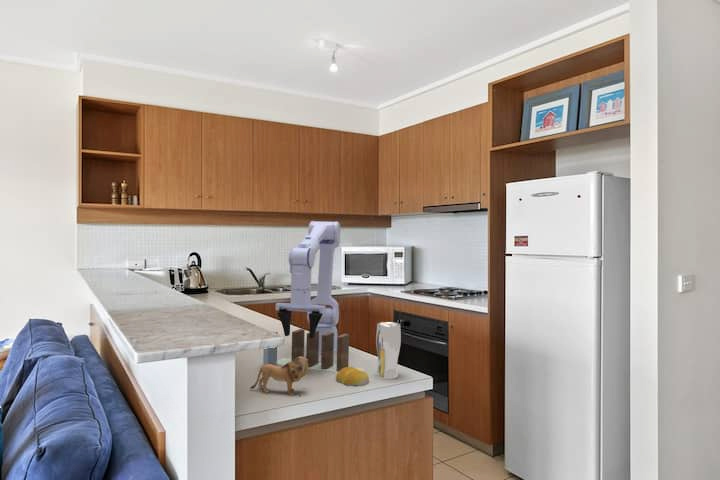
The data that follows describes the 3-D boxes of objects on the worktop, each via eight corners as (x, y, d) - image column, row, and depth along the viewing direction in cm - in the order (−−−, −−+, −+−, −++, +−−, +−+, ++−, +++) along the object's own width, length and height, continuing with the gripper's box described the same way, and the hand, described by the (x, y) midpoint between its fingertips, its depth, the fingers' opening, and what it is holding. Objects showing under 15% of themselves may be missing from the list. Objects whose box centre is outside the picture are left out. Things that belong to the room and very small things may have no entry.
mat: (283, 358, 157) (283, 357, 157) (365, 370, 146) (365, 368, 146) (271, 364, 150) (271, 363, 150) (356, 376, 140) (356, 375, 140)
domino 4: (320, 368, 145) (321, 335, 145) (328, 364, 150) (329, 332, 150) (325, 369, 145) (326, 335, 144) (333, 365, 149) (333, 332, 149)
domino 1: (263, 368, 146) (263, 334, 145) (272, 364, 150) (273, 331, 150) (267, 368, 145) (268, 335, 145) (276, 364, 150) (277, 332, 149)
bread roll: (352, 390, 128) (352, 374, 128) (331, 381, 135) (331, 367, 135) (375, 384, 134) (376, 369, 134) (354, 376, 140) (354, 362, 140)
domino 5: (336, 371, 143) (337, 336, 143) (343, 366, 148) (344, 333, 148) (341, 371, 143) (342, 337, 142) (348, 367, 147) (349, 334, 147)
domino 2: (291, 364, 149) (292, 331, 149) (299, 360, 154) (300, 328, 153) (295, 365, 148) (296, 332, 148) (303, 361, 153) (304, 329, 153)
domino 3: (305, 366, 147) (306, 333, 147) (313, 362, 152) (314, 330, 151) (310, 367, 146) (311, 333, 146) (318, 363, 151) (319, 330, 151)
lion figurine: (308, 389, 128) (309, 354, 127) (306, 395, 122) (307, 359, 122) (252, 387, 128) (252, 352, 128) (247, 394, 122) (248, 358, 122)
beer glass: (400, 380, 137) (402, 326, 136) (375, 380, 136) (377, 326, 136) (398, 373, 144) (400, 322, 143) (374, 372, 143) (376, 321, 143)
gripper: (271, 289, 140) (270, 337, 140) (319, 291, 136) (318, 341, 136) (282, 287, 147) (280, 332, 147) (328, 289, 143) (326, 336, 143)
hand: (299, 336), depth 142 cm, fingers open, 7 cm apart
